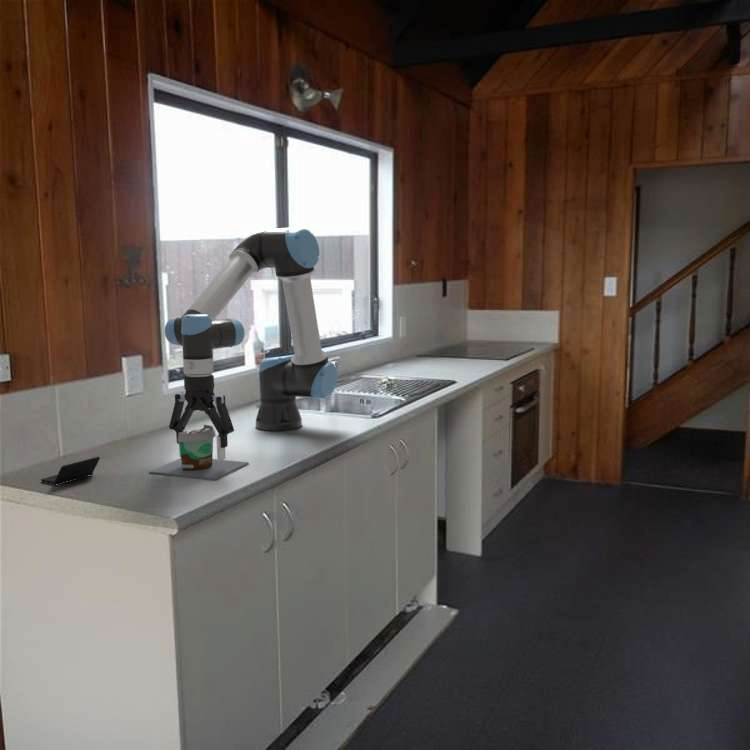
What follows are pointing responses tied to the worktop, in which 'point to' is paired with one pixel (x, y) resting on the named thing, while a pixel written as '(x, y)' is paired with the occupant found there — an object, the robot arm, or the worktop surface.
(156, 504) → the worktop surface
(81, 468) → the handheld gaming console
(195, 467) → the food container
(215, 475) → the mat
